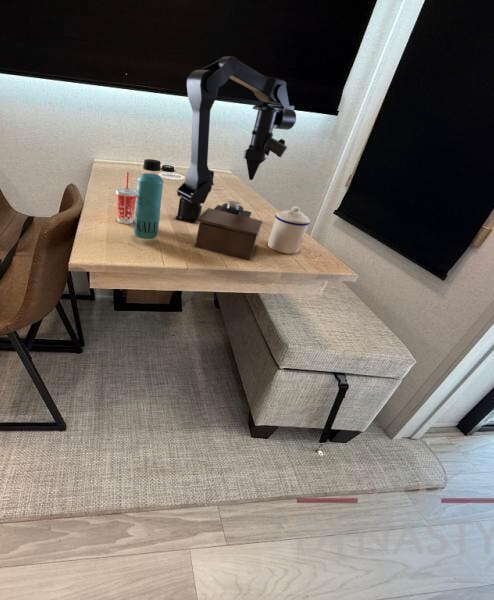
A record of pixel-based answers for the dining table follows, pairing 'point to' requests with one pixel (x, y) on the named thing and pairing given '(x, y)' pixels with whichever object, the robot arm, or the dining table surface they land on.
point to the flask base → (233, 210)
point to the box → (226, 241)
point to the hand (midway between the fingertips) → (251, 179)
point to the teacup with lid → (288, 231)
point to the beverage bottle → (148, 201)
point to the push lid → (233, 204)
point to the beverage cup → (126, 203)
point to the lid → (230, 221)
